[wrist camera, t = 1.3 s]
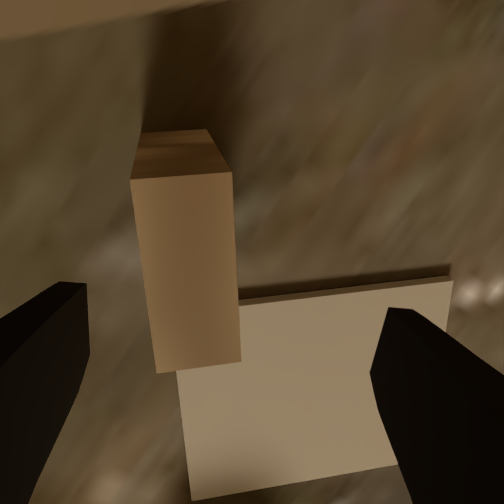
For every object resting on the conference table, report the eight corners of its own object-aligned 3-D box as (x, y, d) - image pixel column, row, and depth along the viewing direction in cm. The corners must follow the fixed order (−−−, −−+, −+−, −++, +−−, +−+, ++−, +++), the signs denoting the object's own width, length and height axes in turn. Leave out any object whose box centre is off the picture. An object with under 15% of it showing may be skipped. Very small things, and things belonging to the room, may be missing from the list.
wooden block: (157, 269, 21) (156, 373, 14) (140, 132, 19) (129, 179, 12) (218, 263, 21) (244, 361, 15) (208, 128, 19) (235, 171, 12)
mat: (191, 492, 27) (191, 501, 26) (169, 307, 22) (169, 314, 21) (420, 451, 29) (425, 459, 28) (446, 275, 24) (453, 280, 23)
